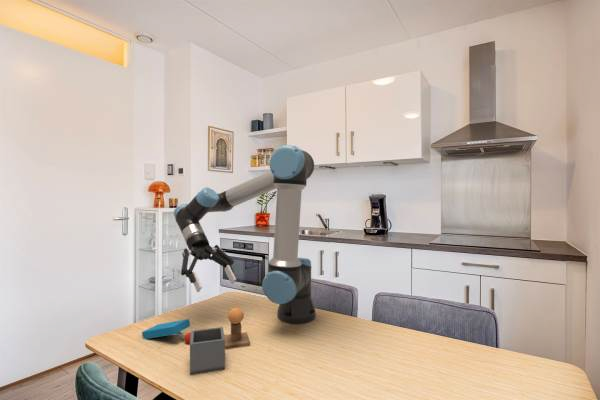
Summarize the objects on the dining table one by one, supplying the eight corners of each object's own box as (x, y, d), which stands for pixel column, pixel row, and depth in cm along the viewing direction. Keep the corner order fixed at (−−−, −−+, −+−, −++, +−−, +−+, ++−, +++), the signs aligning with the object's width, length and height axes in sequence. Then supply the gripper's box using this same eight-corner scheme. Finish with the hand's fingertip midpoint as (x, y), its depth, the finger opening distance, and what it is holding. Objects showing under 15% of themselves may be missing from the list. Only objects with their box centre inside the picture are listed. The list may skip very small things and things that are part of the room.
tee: (246, 335, 105) (246, 317, 105) (250, 345, 97) (250, 326, 97) (222, 338, 103) (222, 320, 103) (224, 349, 95) (224, 329, 95)
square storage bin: (222, 353, 93) (222, 326, 93) (224, 369, 84) (224, 339, 84) (191, 358, 90) (191, 330, 90) (189, 374, 81) (189, 344, 81)
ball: (242, 319, 103) (242, 304, 103) (244, 325, 98) (244, 309, 98) (227, 321, 102) (227, 306, 102) (228, 327, 97) (228, 311, 97)
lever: (145, 353, 102) (187, 347, 96) (141, 332, 103) (182, 325, 97) (162, 344, 109) (202, 338, 102) (158, 324, 109) (197, 317, 103)
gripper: (220, 241, 128) (242, 284, 118) (159, 248, 110) (179, 300, 100) (227, 229, 125) (250, 272, 115) (166, 235, 106) (187, 286, 96)
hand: (217, 285), depth 107 cm, fingers open, 13 cm apart
